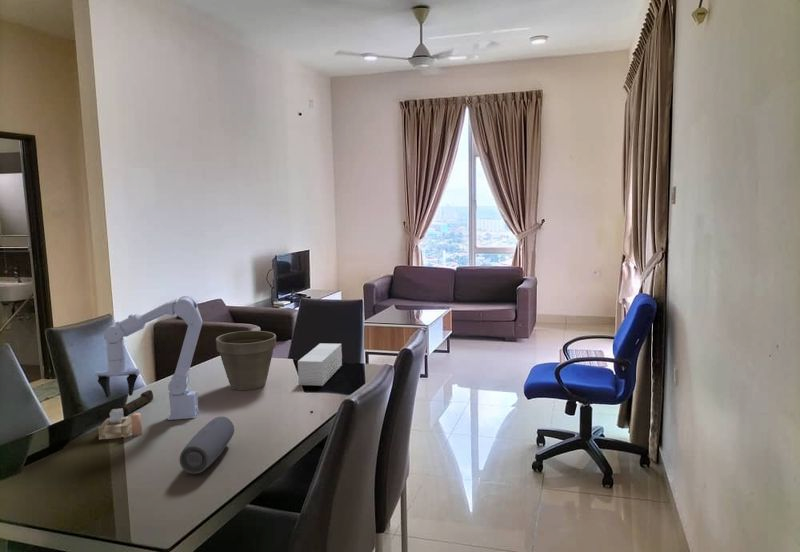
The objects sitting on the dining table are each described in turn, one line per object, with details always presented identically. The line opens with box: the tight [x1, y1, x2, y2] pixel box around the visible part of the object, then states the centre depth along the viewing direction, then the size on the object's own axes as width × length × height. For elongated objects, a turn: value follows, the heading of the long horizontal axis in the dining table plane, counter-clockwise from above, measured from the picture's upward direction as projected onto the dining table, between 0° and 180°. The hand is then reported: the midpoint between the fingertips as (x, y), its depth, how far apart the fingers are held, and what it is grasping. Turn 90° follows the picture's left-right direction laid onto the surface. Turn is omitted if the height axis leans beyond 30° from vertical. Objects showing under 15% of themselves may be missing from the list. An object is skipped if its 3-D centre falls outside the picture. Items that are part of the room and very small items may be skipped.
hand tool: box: [117, 389, 154, 417], centre depth 216 cm, size 19×4×5 cm, turn 168°
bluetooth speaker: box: [178, 416, 235, 474], centre depth 168 cm, size 23×9×10 cm, turn 178°
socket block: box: [97, 415, 132, 440], centre depth 190 cm, size 9×9×4 cm
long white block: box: [297, 342, 343, 387], centre depth 254 cm, size 32×11×11 cm, turn 171°
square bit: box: [109, 408, 125, 425], centre depth 190 cm, size 3×3×8 cm
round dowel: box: [130, 412, 143, 436], centre depth 189 cm, size 3×3×7 cm
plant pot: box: [215, 330, 277, 391], centre depth 239 cm, size 25×25×22 cm
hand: (119, 395), depth 200 cm, fingers open, 7 cm apart
